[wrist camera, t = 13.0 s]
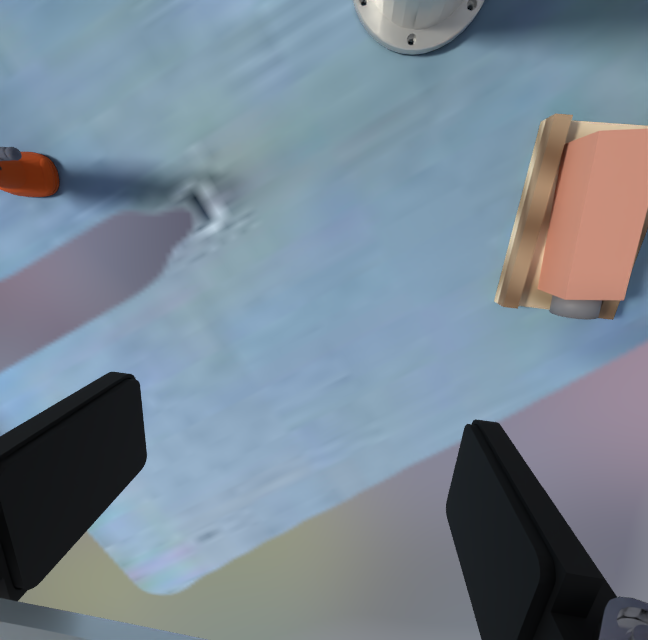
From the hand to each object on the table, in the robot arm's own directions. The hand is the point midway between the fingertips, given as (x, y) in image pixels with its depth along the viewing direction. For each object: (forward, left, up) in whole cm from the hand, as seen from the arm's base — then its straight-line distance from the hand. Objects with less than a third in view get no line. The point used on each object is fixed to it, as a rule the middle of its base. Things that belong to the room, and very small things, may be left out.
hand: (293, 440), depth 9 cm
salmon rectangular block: (-8, +22, -29) cm, 38 cm away
